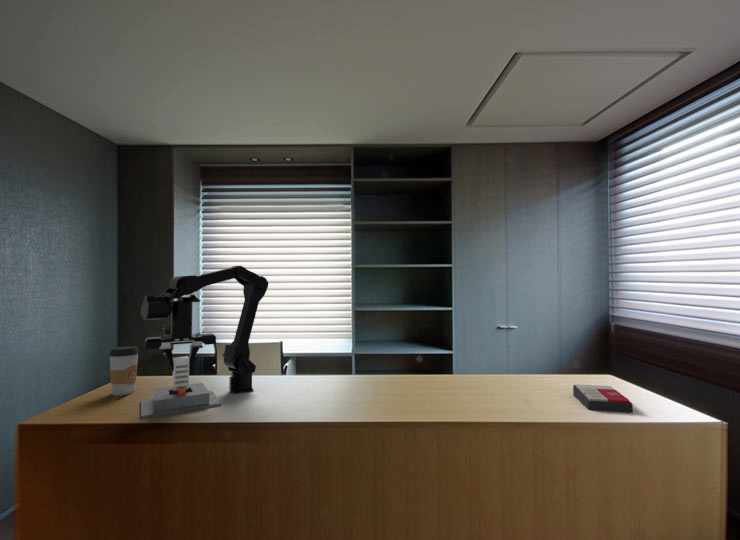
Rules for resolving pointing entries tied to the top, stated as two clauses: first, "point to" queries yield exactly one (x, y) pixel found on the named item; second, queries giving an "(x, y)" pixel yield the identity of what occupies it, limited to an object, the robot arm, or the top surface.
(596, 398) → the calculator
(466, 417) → the top surface
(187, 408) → the stand base
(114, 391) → the coffee cup
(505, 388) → the top surface
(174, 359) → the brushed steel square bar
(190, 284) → the robot arm
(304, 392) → the top surface
